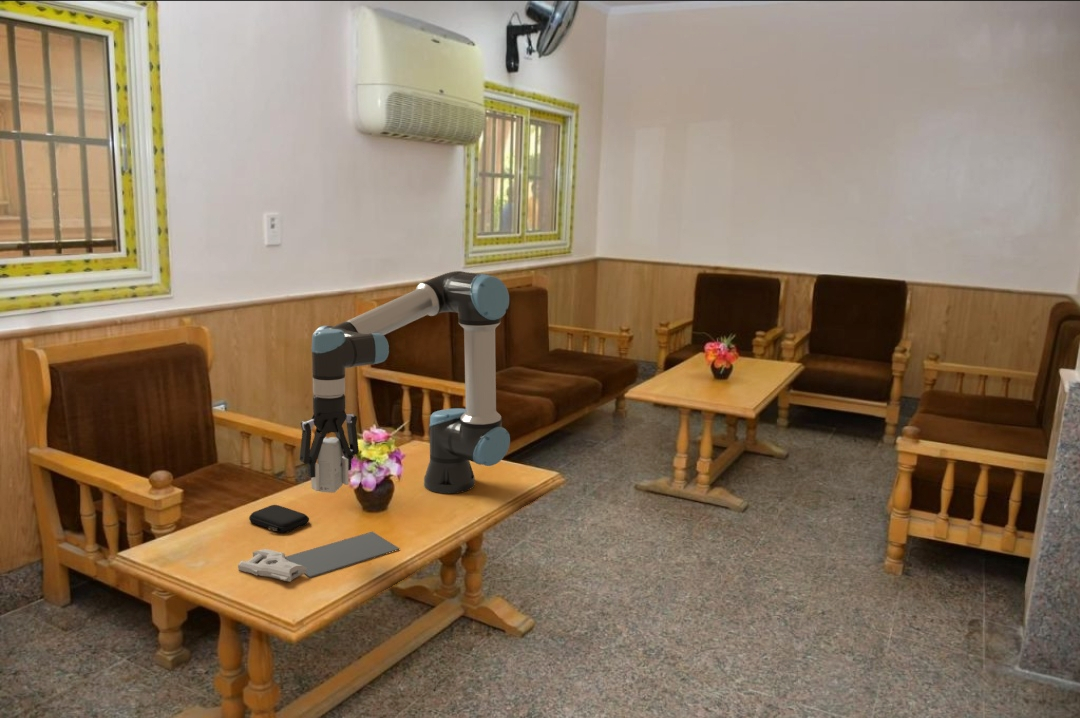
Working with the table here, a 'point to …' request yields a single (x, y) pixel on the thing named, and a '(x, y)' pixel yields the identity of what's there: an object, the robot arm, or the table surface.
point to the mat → (342, 553)
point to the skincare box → (330, 465)
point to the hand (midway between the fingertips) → (330, 486)
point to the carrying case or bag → (279, 518)
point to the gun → (272, 565)
